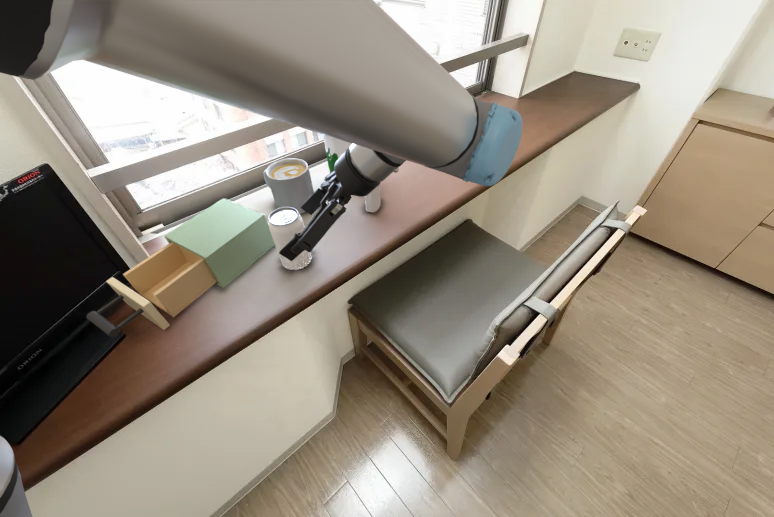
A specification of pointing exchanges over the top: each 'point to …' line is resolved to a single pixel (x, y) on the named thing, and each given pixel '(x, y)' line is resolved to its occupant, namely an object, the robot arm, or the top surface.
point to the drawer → (158, 287)
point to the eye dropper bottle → (373, 200)
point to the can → (288, 235)
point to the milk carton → (334, 150)
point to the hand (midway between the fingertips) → (296, 231)
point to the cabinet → (225, 238)
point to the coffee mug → (289, 183)
